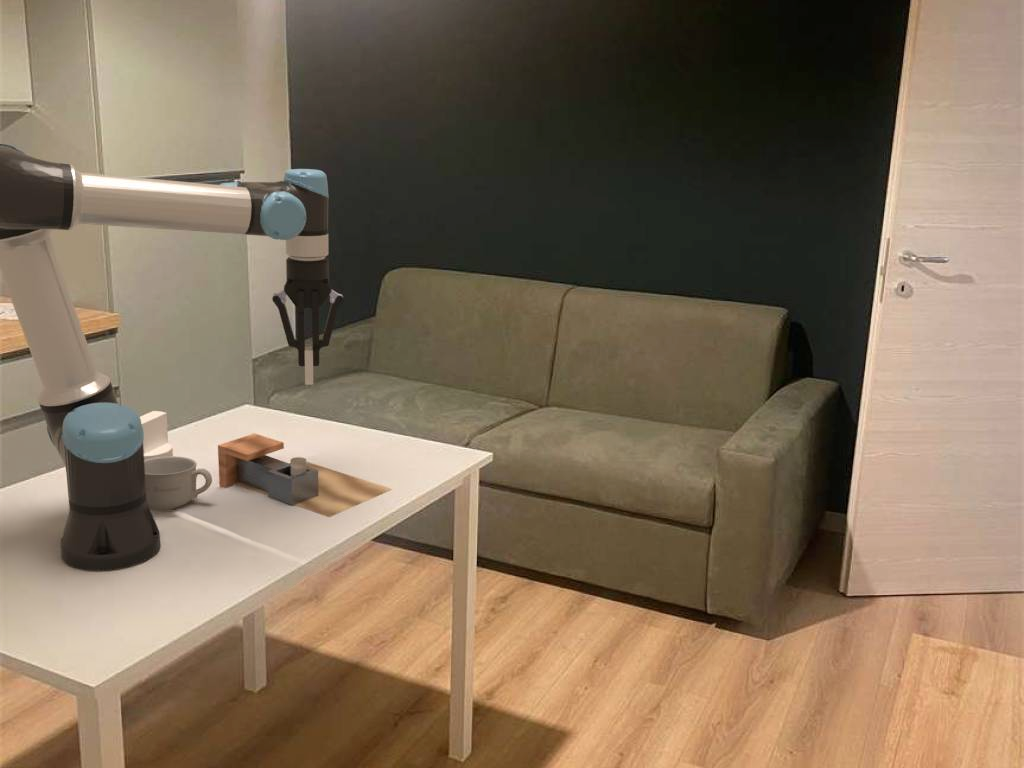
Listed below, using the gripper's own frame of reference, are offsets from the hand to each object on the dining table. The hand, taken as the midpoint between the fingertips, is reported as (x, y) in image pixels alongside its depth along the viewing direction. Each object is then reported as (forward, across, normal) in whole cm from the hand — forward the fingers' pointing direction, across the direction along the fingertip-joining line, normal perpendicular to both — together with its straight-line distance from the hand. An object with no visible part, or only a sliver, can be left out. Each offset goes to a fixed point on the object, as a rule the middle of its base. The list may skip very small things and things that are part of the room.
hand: (309, 382), depth 196 cm
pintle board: (+20, +1, +3) cm, 21 cm away
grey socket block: (+19, +6, +4) cm, 21 cm away
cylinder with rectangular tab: (+21, +30, -6) cm, 37 cm away
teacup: (+21, +24, +8) cm, 33 cm away
